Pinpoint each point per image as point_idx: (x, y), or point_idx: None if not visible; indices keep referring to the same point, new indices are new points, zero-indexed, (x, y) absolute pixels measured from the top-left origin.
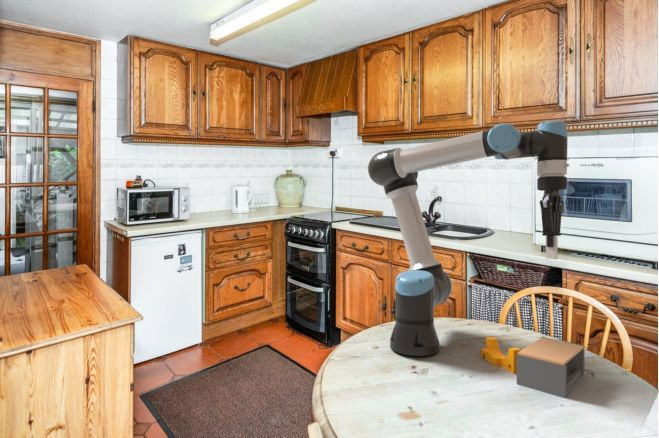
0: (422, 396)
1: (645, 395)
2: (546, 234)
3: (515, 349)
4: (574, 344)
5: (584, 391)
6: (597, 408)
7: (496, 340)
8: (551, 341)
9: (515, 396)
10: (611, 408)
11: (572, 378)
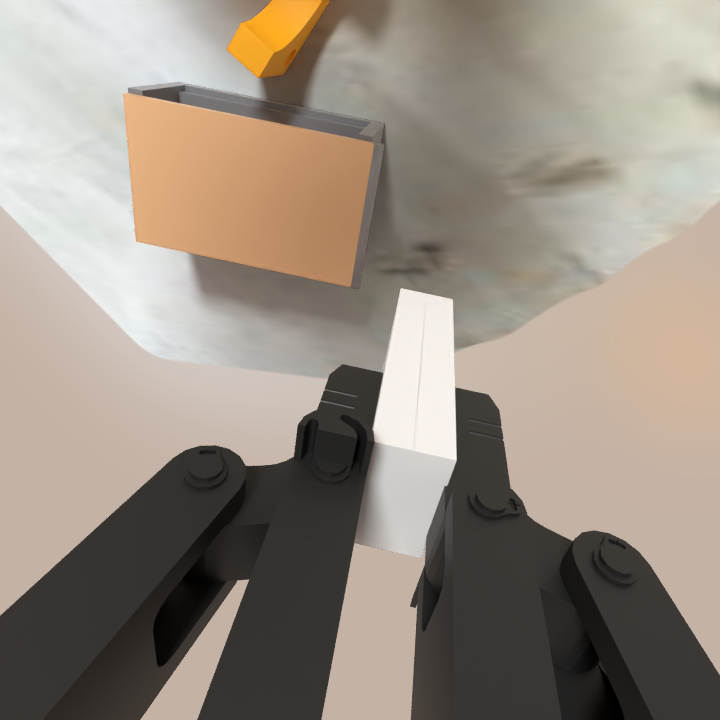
0: None
1: (325, 366)
2: (255, 470)
3: (244, 54)
4: (352, 261)
5: None
6: (180, 280)
7: None
8: (341, 186)
9: (95, 98)
10: (201, 304)
11: None
